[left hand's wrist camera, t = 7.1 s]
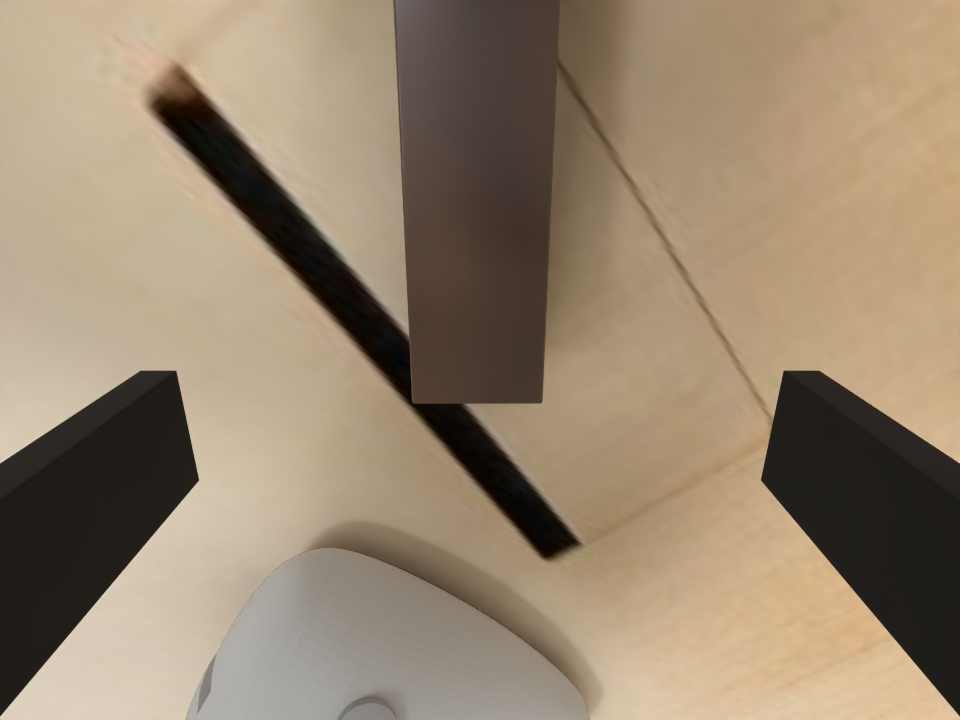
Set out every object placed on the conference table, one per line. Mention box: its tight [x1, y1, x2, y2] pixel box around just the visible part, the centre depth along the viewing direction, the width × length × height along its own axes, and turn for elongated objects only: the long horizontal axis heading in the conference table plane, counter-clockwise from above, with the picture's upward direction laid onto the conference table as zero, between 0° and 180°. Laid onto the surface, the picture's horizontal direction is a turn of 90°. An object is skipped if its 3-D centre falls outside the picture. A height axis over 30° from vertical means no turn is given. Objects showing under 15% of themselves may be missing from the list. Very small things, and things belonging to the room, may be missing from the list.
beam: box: [393, 0, 560, 404], centre depth 21 cm, size 5×26×8 cm, turn 0°
